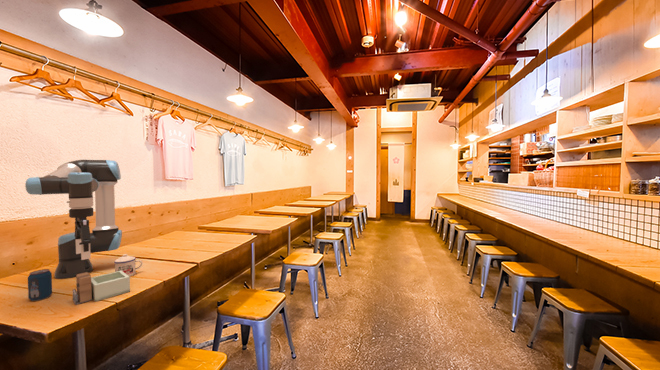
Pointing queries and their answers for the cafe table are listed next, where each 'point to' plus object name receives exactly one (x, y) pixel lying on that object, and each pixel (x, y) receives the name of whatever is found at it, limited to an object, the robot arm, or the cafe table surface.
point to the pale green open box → (110, 285)
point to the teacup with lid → (126, 264)
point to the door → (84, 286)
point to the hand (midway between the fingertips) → (83, 256)
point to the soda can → (39, 285)
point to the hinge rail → (75, 297)
